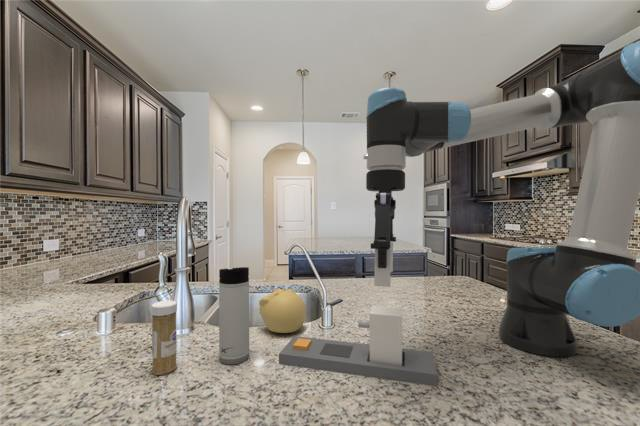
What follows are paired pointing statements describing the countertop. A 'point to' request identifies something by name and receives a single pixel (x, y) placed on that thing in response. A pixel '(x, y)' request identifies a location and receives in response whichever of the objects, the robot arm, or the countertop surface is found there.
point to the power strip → (358, 360)
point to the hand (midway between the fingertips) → (384, 278)
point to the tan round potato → (282, 311)
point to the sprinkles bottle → (164, 337)
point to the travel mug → (233, 315)
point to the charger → (385, 335)
